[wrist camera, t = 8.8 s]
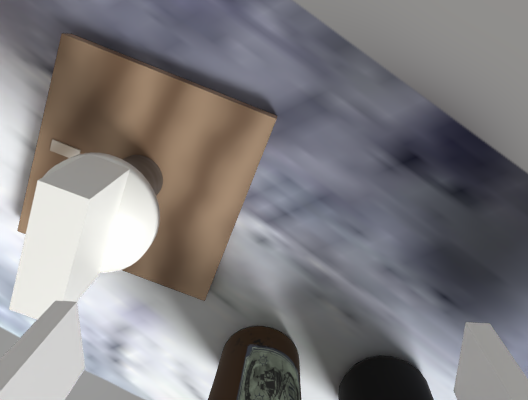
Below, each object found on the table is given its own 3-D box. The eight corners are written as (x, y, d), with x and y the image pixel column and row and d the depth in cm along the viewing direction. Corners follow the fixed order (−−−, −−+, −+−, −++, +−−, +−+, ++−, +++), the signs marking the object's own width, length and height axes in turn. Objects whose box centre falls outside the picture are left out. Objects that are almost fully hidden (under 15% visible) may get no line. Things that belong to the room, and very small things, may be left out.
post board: (277, 115, 48) (271, 138, 37) (207, 292, 55) (185, 355, 44) (71, 33, 47) (1, 31, 36) (27, 224, 54) (-43, 271, 43)
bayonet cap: (57, 134, 38) (-14, 161, 29) (174, 179, 38) (139, 217, 30) (28, 256, 42) (-41, 311, 33) (136, 295, 42) (95, 359, 34)
